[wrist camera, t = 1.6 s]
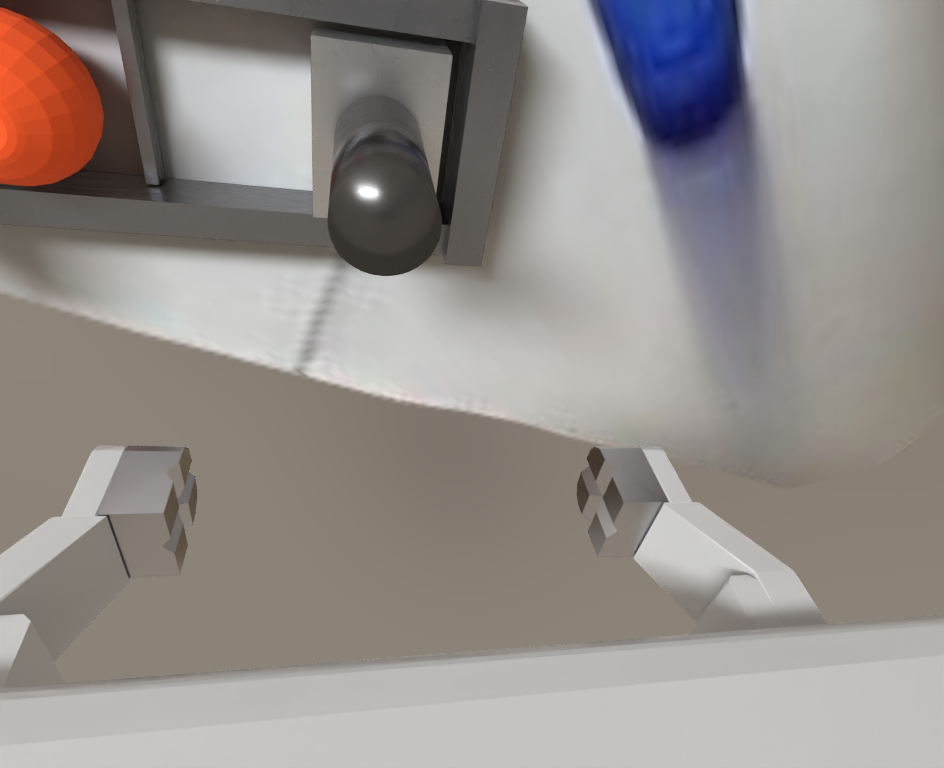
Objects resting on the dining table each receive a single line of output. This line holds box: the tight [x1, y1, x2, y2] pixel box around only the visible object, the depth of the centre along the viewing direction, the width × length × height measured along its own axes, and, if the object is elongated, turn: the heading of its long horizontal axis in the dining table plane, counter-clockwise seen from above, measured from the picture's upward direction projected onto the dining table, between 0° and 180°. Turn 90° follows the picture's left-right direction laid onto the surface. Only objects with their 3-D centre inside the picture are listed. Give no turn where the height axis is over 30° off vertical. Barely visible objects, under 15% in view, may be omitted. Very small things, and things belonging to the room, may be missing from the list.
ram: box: [311, 20, 453, 276], centre depth 26 cm, size 6×8×13 cm
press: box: [0, 0, 528, 266], centre depth 26 cm, size 30×12×8 cm, turn 81°
